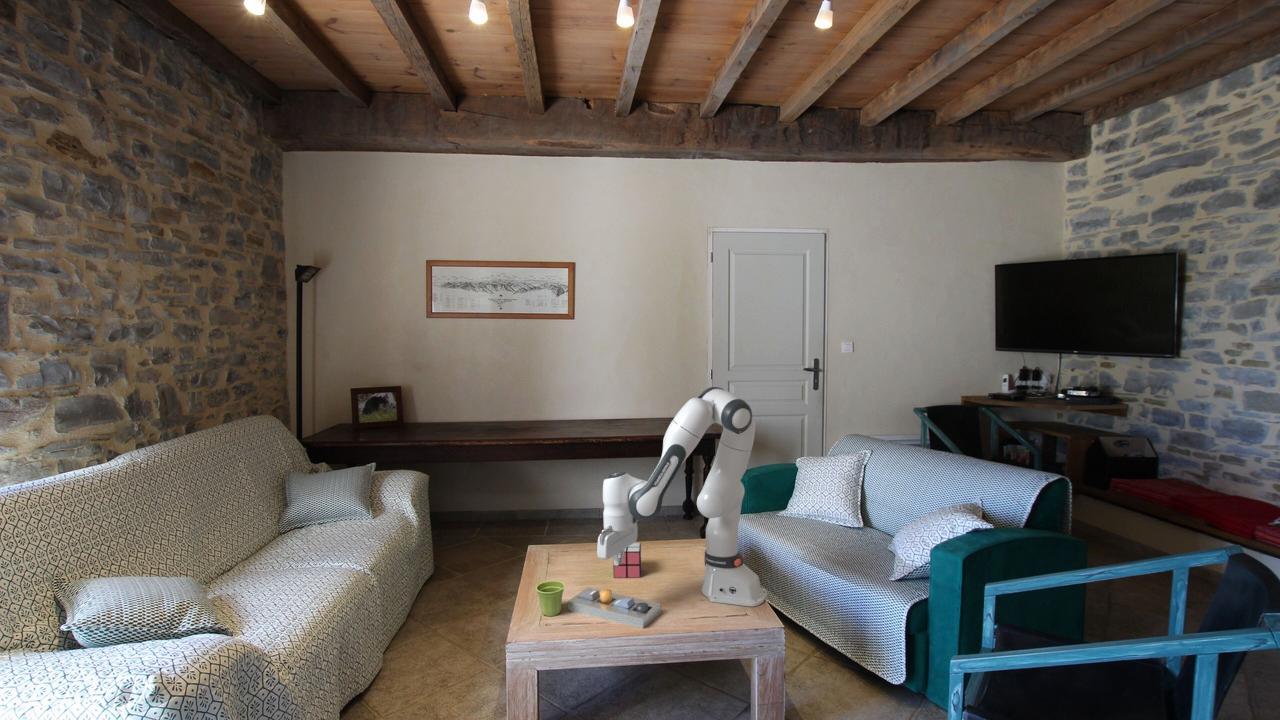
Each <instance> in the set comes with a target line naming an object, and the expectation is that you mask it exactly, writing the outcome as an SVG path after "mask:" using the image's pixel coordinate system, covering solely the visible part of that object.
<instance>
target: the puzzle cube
mask: <svg viewBox="0 0 1280 720" xmlns="http://www.w3.org/2000/svg"><path fill="white" fill-rule="evenodd" d="M641 546H642V545H641V542H635V543H633V544H631V545H630V546H628V547H627V548H625V552H624V556H623V562H622V563H621V564H619V565H618V566H616V565H614V560H613V559H612V560H613V561H612V562H613V567H612V568H613V578H614V579H626V578H628V579H640V578H641V575H642V553H641V552H642V551H641V550H642V547H641Z"/></svg>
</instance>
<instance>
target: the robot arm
mask: <svg viewBox="0 0 1280 720" xmlns="http://www.w3.org/2000/svg"><path fill="white" fill-rule="evenodd" d="M713 424H719V425H720V426H722V428H723V429H722V432H721V435H720V439H719V443H718V447H717V449H716V453H715V454H716V455H715V457H714V461H713V464H712V466H711V468H710V470H709V473H708V475H707V477H706V479H705V481H704V484H703V486H702V489H701V491H700V493H699V494H698V496H697V500H696V506H697V507H696V508H697V510H698V511H699V513H700V514H701V515H702V516H704V517H705V518H707V519H708V522H707V524H706V527H705V550H704V558H703V560H704V561H703V562H704V567H705V569H704V576H703V577H704V579H703V583H702V587H701V594H703V595H704V596H705V597H707V598H708V600H709V602H710V603H711V602H712V603H717V604H718V603H719V604H726V605H727V604H728V605H736V606H744V607H745V606H746V607H757V606H760V605H761V604H763V603H764V602H765V601H764V599H765V600H766V599H767V598H768V591H767V589H766V588H764V587H761V582H760V577H759V575H758V574H756V573H755V572H754V571H753V570H752V569H751V568H749V567H748V566H747V565H746V564H745V563H744V558H745V553H743V554H741V553H740V552H739V541H738V540H739V535H738V534H739V523H740V517H741V511H742V503H743V500H744V497H745V493H746V492H745V486H744V483H743V482H742V481H741V480H742V479H743V476H744V474H745V473H746V470H747V467H748V463H749V460H750V457H751V453H752V449H753V445H754V441H755V435H756V422H755V420H754V418H753V411H752V408H751V406H750V405H749V404H748V403H747V402H746V401H745V400H744V399H742V398H740V397H739V396H738V395H736V394H735V393H732V392H731V391H727V390H725V389H724V388H721V387H719V386H711V387H708V388H706V389H704V390H703V391H702V393H701V394H700V395H698V396H697V397H692V398H690V399H689V400H687V402H686V403H684V405H683V406H681V407H680V409H679V410H678V412H677V413H676V415H675V416H674V418H673V419H672V420H671V422H670V423H669V426H668V427H667V429H666V431H665V434H664V436H663V440H662V441H663V442H662V452H661V457H660V459H659V462H658V463H657V465H656V467H655V469H654V471H653V472H652V474H651V476H650V477H649V479H648V480H645V479H640V478H637V477H634V476H632V475H630V474H629V473H627V471H621V470H620V471H615V472H611V473H609V474H608V475H606V476H605V478H604V479H603V482H602V483H603V485H602V503H603V513H602V515H603V517H602V518H603V529H602V530H601V532H600V534H599V535H598V538H597V549H596V550H597V551H596V556H597V558H598V559H599V560H605V561H608V560H609V559H611V558H612V560H614V564H613V565H616V566H618V565H619V564H621V563H622V562H623V556H624V552H625V548H627V547H628V546H630V545H631V544H633V543H637V539H638V521H640V522H650V521H653V520H655V519H656V518H657V517H658V516H659V514H660V513H661V509H662V505H663V499H664V496H665V493H666V491H667V490H668V488H669V487H670V485H671V483H672V481H673V480H674V478H675V476H676V475H677V473H678V472H679V470H680V468H681V466H682V465H683V463H685V461H686V460H687V458H688V457H689V456H690V455H691V454H692V452H693V451H694V449H696V447H697V446H698V445H699V442H700V441H701V439H702V438H703V436H704V435H705V433H706V431H707V430H708V428H709V427H710V426H712V425H713ZM760 594H761V595H760Z"/></svg>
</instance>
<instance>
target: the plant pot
mask: <svg viewBox="0 0 1280 720" xmlns="http://www.w3.org/2000/svg"><path fill="white" fill-rule="evenodd" d="M565 588H566V585H565V583H564V582H562V581H557V580H549V581H542V582H540V583H539V584H537V585H536V586H535V590H536V591H537V595H538V599H539V605H540V610H541V614H542V616H546V617H554V616H557V615H559V614H560V613H561V611H562V610H561V608H562V602H563V601H562V600H563V593H564V589H565Z"/></svg>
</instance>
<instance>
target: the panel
mask: <svg viewBox="0 0 1280 720" xmlns="http://www.w3.org/2000/svg"><path fill="white" fill-rule="evenodd" d="M597 590H598V592H599V596H598V597H597V598H596V599H594V600H592V601H589V600H585V599H581V598H578V596H579V595H581V594H582V593H583V592H586V591H597ZM601 590H602V589H596V588H592V587H587V588H585V589H584V590H582V591H580V592H579V593H577V594H576V595H575V596H573V597H572V598H570V599H569V600H568V601H567V610H568V611H570V612H575V613H578V614H583V615H588V616H590V617H596V618H599V619H604V620H608V621H610V622H611V621H612V622H615V623H619V624H624V625H628V626H630V627H631V626H632V627H635V628H641V629H644V628H645V627H647V626H648V625H649V624H650V623H651V622H652V621H653V620H654V619H655V618H656V617H658V615H660V614H661V612H662V611H661V603H660V602H656V601H651V600H646V599H641V598H637V597H633V596H629V595H628V596H627V595H623V594H621V593H620V594H618V593H614V592H612V603H611V604H608V605H606V604H602V603H600V591H601ZM628 598H633V599H634V602H635V603H634V604H633V605H632V606H631V607H630V608H626V609H624V608H619V607H615V606H613V604H614V603H616V602H617V601H618V600H622V599H628ZM638 603H647V604H648V612H647V613H646V614H645V613H641V612H637V611H636V604H638Z"/></svg>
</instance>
